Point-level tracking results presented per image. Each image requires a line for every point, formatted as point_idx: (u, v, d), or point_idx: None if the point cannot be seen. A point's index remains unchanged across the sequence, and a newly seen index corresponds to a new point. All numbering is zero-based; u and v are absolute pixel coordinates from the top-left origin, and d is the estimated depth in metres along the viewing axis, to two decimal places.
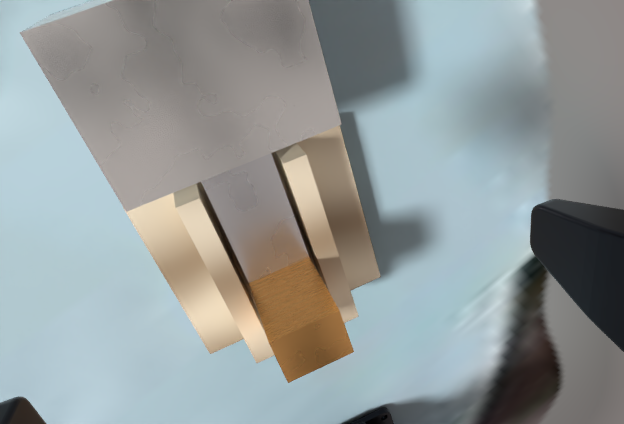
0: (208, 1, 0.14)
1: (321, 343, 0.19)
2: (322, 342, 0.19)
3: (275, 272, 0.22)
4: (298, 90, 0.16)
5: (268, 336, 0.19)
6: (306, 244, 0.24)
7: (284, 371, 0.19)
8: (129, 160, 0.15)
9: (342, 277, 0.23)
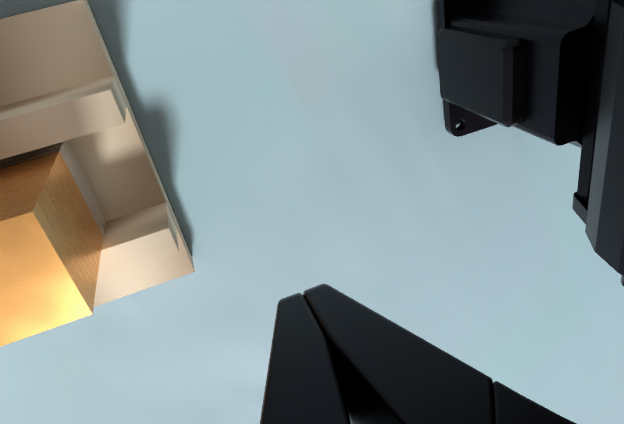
0: None
1: None
2: None
3: None
4: None
5: None
6: None
7: (62, 322, 0.12)
8: None
9: (7, 124, 0.13)
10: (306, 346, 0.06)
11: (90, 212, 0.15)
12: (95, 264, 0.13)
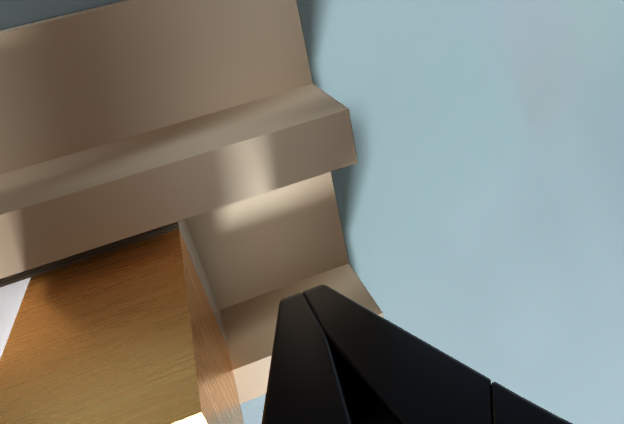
0: None
1: None
2: None
3: None
4: None
5: None
6: None
7: None
8: None
9: (187, 168, 0.08)
10: (308, 345, 0.06)
11: (215, 317, 0.09)
12: (242, 421, 0.08)
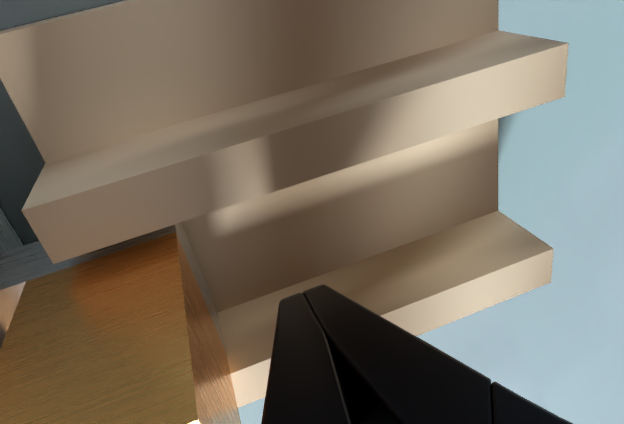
0: None
1: None
2: None
3: None
4: None
5: None
6: None
7: None
8: None
9: (430, 94, 0.08)
10: (308, 345, 0.06)
11: (212, 321, 0.09)
12: None
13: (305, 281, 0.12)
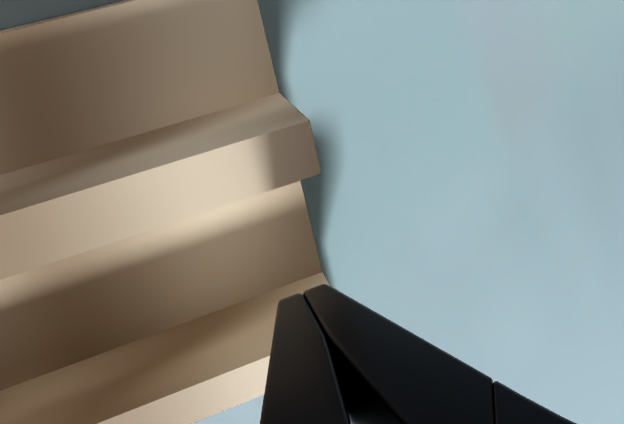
0: None
1: None
2: None
3: None
4: None
5: None
6: None
7: None
8: None
9: (144, 181, 0.07)
10: (306, 346, 0.06)
11: None
12: None
13: (101, 354, 0.11)
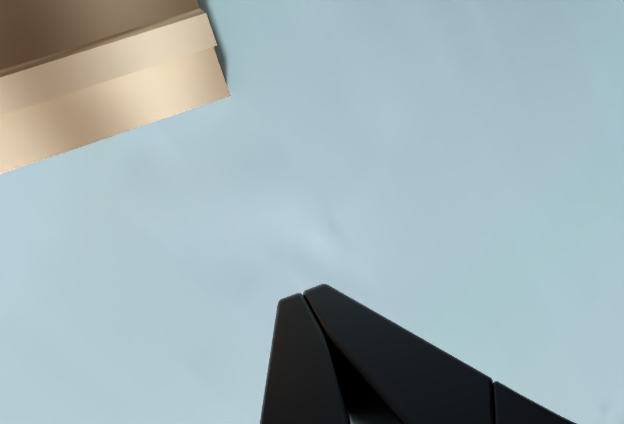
0: None
1: None
2: None
3: None
4: None
5: None
6: None
7: None
8: None
9: None
10: (306, 346, 0.06)
11: None
12: None
13: (42, 57, 0.16)
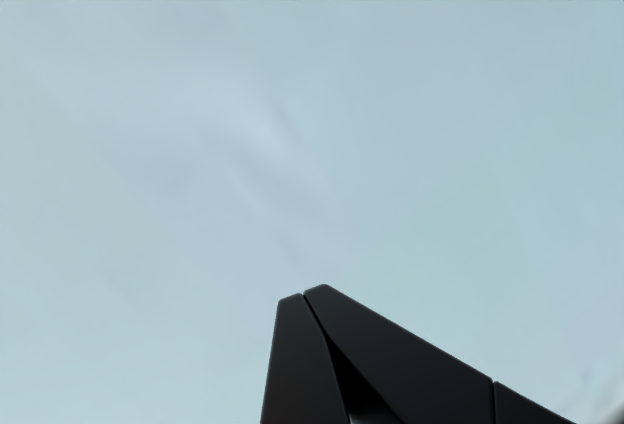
0: None
1: None
2: None
3: None
4: None
5: None
6: None
7: None
8: None
9: None
10: (306, 346, 0.06)
11: None
12: None
13: None
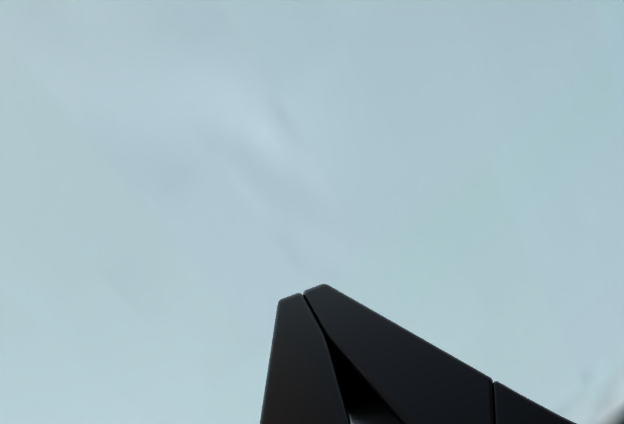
0: None
1: None
2: None
3: None
4: None
5: None
6: None
7: None
8: None
9: None
10: (306, 346, 0.06)
11: None
12: None
13: None
